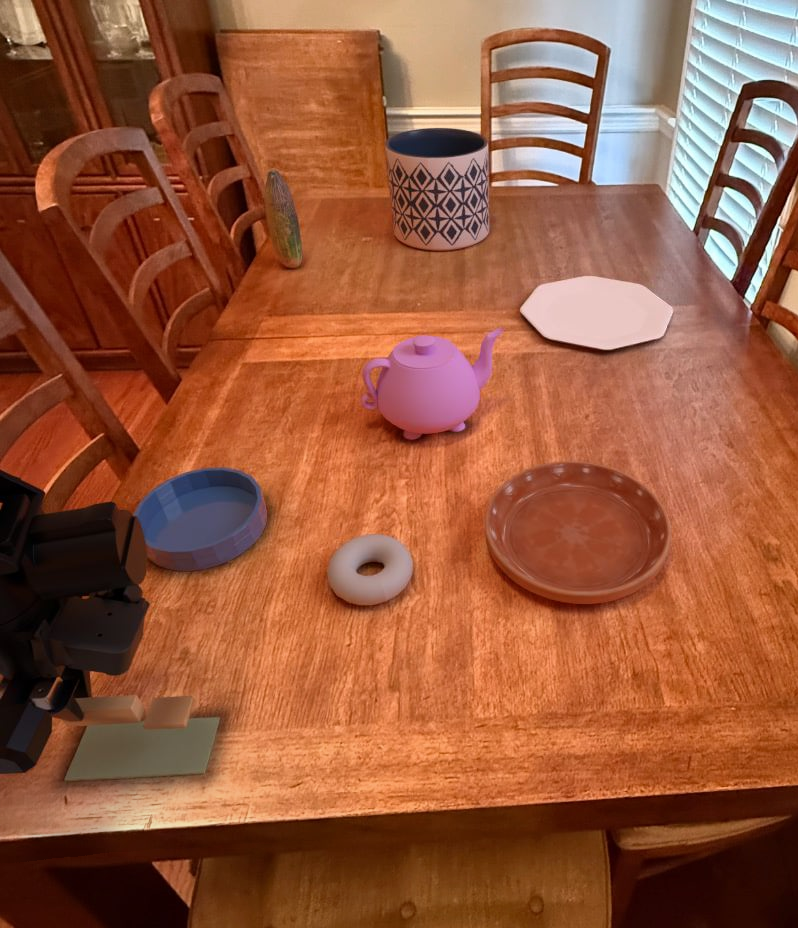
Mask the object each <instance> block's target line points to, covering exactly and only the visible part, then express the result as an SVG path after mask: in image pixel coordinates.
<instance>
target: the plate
mask: <svg viewBox="0 0 798 928" xmlns="http://www.w3.org/2000/svg"><path fill="white" fill-rule="evenodd" d="M519 314H520V315H522V316H523V317H524V318H525V320H527V322H528V323H529V324H530V325H531V326H532V327H533V328H534V329H535V331H537V332H538V333H539V334H540V335H541V336H542V338H544V339H547V340H548V341H552V342H557V343H562V344H567V345H572V346H577V347H582V348H588V349H593V350H598V351H603V352H604V351H605V352H609V351H615V350H620V349H623V348H627V347H628V348H629V347H632V346H635V345H641V344H645V343H649V342H653V341H657V340H660V339H661V338H663V337H664V336H665V333H666V330H667V329H668V326H669V323H670V321H671V319H672V317H673V314H674V308H673V307H672V306H671V305H669V303H667V302H665V300H663V299H662V298H660V297H659V296H658V295H657V294H655V293H654V292H653V291H651V290H650V289H649V288H648V287H646V286H645V285H643V284H640V283H637V282H630V281H624V280H618V279H612V278H606V277H601V276H594V275H582V276H576V277H572V278H568V279H567V278H566V279H562V280H557V281H550V282H547V283H541V284H539V285H537V286H536V288H534V290H533V291H532V293H531V294H530V295H529V296H528V298H527V299H526V300H525V301H524V303H523V304H522V305H521V306H520V307H519Z"/></svg>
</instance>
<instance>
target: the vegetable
mask: <svg viewBox="0 0 798 928" xmlns="http://www.w3.org/2000/svg"><path fill="white" fill-rule="evenodd" d="M263 193H264V194H263V195H264V211H265V218H266V224H267V229H268V233H269V237H270V240H271V243H272V246H273V248H274V251H275V254H276V256H277V258H278V260H279V261H280V263H281V264H282V265H283V266H285V267H287V268H289V269H296V268H298V267H299V266H300V265H301V264H302V261H303V255H304V254H303V243H302V237H301V230H300V222H299V217H298V214H297V210H296V206H295V204H294V203H295V202H294V199H293V194H292V192H291V190H290V187H289V185H288V184H287V183H286V181H285V179H283V177H282V175H281V173H280V172H279V171H277V170H275V169H272V170H269V172H268V173H267V177H266V182H265V185H264V192H263Z"/></svg>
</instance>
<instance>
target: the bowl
mask: <svg viewBox="0 0 798 928" xmlns="http://www.w3.org/2000/svg"><path fill="white" fill-rule="evenodd" d="M139 501H140V502H139V503H138V505H137V506H136V509H135V510H134V512H133V514H132V515H133V516H137V517H138V519H139V521H140V524H141V527H142V529H143V533H144V537H145V542H146V549H147V559H148V560H149V561H151V562H152V563H153V564H154V565H156V566H158V567H161V568H163V569H166V570H170V571H175V572H195V571H201V570H208V569H210V568H215V567H217V566H221V565H223V564H225V563H229V562H230V561H232V560H234V559H236V558H237V557H239V556H241V555H242V554H243V553H245V552H246V551H248V550H249V549H250V548H251V547H252V546H253V545H254V544H255V543H256V542H257V541H258V540H259V538H260V537H261V536H262V534H263V532H264V531H265V528H266V525H267V521H268V510H267V505H266V500H265V498H264V494H263V490H262V487H261V485H260V484H259V483H258V481H256V479H255V478H254V477H253V476H252V475H250V474H248V473H246V472H244V471H242V470H240V469H236V468H230V467H225V466H223V467H222V466H221V467H220V466H219V467H217V466H216V467H203V468H198V469H193V470H189V471H185V472H182V473H180V474H178V475H175V476H173V477H171V478H168V479H166V480H165V481H163V482H162V483H160V484H159V485H157V486H156V487H154V488H152V489H151V490H150V491H149V492H148V493H147V494H146V495H145V496H144V497H143V498H142V499H141V500H139Z"/></svg>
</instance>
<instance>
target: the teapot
mask: <svg viewBox="0 0 798 928" xmlns="http://www.w3.org/2000/svg"><path fill="white" fill-rule="evenodd" d="M504 331H505V329H504V328H497V329H494V330H492V331H490V332H489V333H487V335H485V337H483V339H482V342H481V344H480V351H479V356H478V359H477V360H476V361H475V362H474V363H473V364H472V365H471V363H470V362H469V361H468V359H467V358H466V356H465V355H464V354H463V353H462V351H461V350H460V349H459V348H458V347H457V346H456V345H455V344H454V343H453V342H452V341H450V340H449V339H447V338H444V337H441V336H436V335H428V334H422V335H421V334H420V335H417V336H413V337H410V338H407V339H404V340H402V341H401V342H399V343H397V344H396V345H395V346H394V347H393V348H392V350H391V351H390V353H389V354H388V356H387V358H383V357H378V358H377V357H376V358H374V359H371V360H369V361H368V362H366V363H365V365H364V366H363V367H362V372H361V375H362V380H363V384H364V386H365V388H366V390H367V392H366V393H365V394H363V395H362V397H361V398H360V403H361V406H362V408H363V409H365V410H367V411H376V410H377V409H378V411H379V412H380V414H381V415H382V417H383V418H384V419H385V420H386V421H387V422H390V423H391V424H392V425H394V426H396V427H397V428H399V429H401V430H403V437H404V438H405V439H406V440H417V439H419V438H420V437H421V436H422V435H423V434H426V435H427V434H437V433H442V432H446V431H451V432H452V433H453V432H454V433H458V432H462V431H463V430H464V429H466V424H465V421H466V420H467V419H468V418H470V417H471V416H472V415H473V413H474V412H475V411H476V409H477V408H478V405H479V403H480V399H481V393H480V392H481V390H482V389H484V387H485V386H486V385H487V384H488V382H489V380H490V378H491V376H492V372H493V349H494V345H495V343H496V341H497V340H498V338H499V337H500V336H501V335H502V334H503V333H504ZM379 368H381V369H380V372H379V375H378V377H377V381H376V387H375V386H374V384H373V382H372V381H371V377H370V373H371V371H373V370H375V369H379ZM368 400H372V401H368Z"/></svg>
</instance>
